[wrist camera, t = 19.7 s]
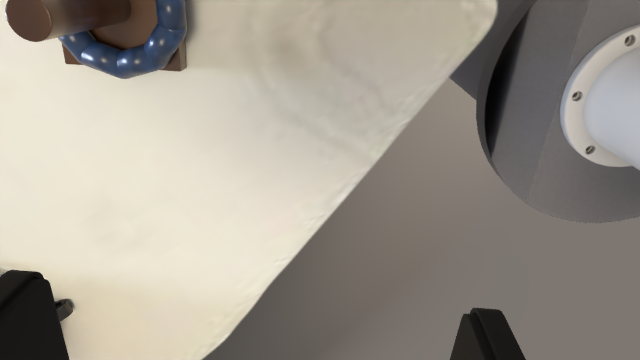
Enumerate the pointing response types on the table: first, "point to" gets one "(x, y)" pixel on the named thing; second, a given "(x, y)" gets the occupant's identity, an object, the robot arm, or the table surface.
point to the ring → (136, 58)
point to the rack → (89, 23)
